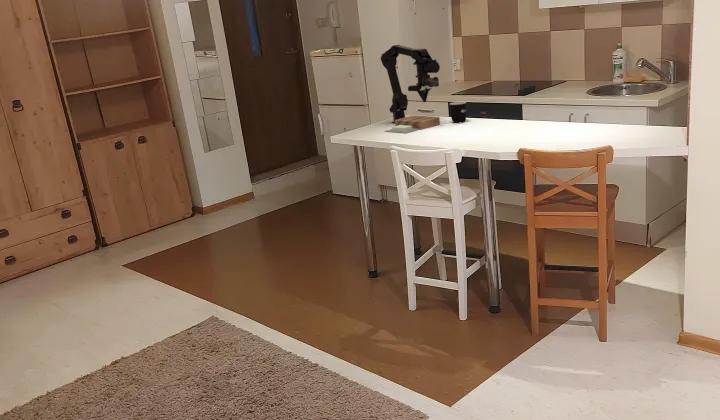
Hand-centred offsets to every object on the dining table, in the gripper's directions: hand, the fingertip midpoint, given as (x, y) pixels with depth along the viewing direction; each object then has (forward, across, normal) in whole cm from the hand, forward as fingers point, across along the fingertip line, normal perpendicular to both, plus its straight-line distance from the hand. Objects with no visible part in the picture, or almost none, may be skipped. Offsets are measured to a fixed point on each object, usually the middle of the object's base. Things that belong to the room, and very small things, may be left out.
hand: (424, 102), depth 357 cm
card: (+10, -19, 0) cm, 21 cm away
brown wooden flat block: (+12, -6, +1) cm, 13 cm away
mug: (+12, +12, -14) cm, 22 cm away
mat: (+12, -18, 0) cm, 22 cm away
